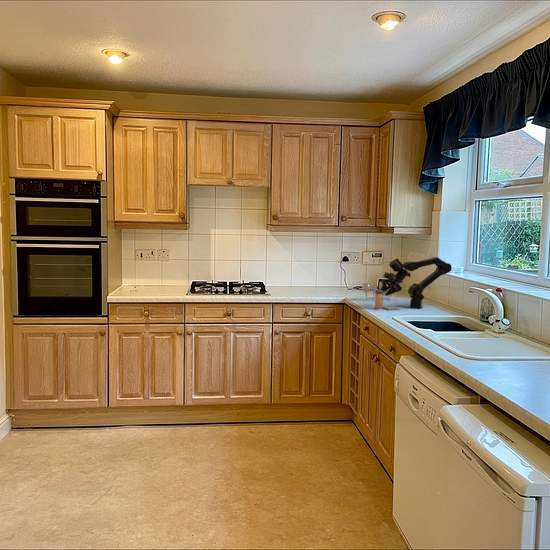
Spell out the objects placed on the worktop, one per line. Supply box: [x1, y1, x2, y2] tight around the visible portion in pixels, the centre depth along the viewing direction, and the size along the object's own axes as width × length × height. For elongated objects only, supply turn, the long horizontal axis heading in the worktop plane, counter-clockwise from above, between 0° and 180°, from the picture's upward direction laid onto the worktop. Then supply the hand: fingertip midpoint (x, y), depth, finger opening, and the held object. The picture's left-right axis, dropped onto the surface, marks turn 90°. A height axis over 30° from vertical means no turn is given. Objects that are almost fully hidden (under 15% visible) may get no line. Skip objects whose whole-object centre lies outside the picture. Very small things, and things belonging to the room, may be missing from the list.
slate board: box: [382, 305, 401, 311], centre depth 334 cm, size 8×12×1 cm, turn 13°
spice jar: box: [374, 289, 384, 310], centre depth 331 cm, size 5×5×12 cm
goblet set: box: [362, 281, 401, 302], centre depth 365 cm, size 28×6×13 cm, turn 106°
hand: (382, 294), depth 331 cm, fingers open, 9 cm apart
